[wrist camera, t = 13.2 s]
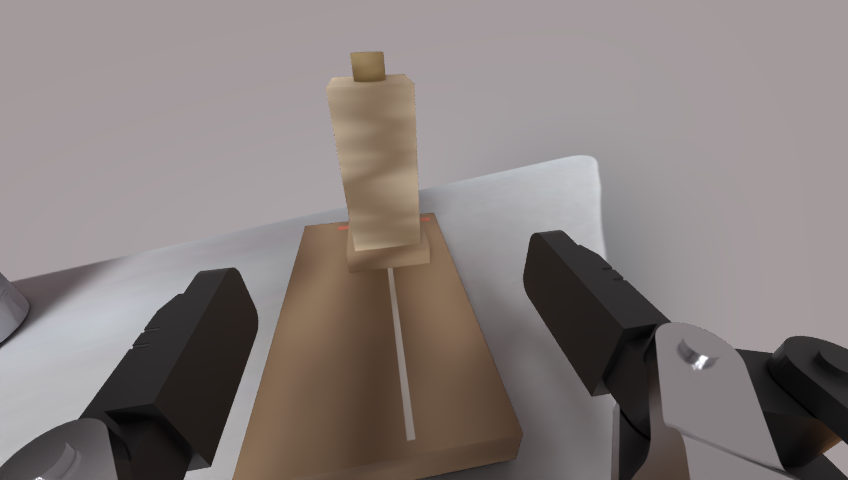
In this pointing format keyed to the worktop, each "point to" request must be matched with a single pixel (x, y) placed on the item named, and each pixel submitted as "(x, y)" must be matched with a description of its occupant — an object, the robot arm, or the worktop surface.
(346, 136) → the pale wood tall block
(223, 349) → the robot arm
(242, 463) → the plank
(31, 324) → the worktop surface
